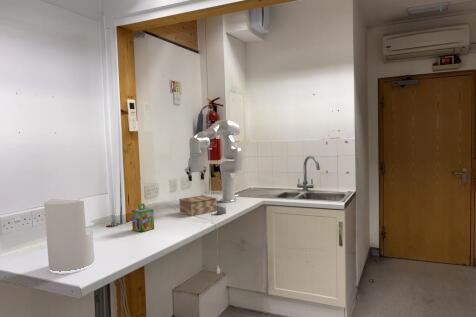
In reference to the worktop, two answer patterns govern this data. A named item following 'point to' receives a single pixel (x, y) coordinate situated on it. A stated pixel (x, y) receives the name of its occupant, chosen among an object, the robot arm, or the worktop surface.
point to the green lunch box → (142, 219)
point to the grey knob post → (221, 209)
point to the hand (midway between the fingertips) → (196, 180)
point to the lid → (197, 199)
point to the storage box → (198, 207)
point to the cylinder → (67, 235)
